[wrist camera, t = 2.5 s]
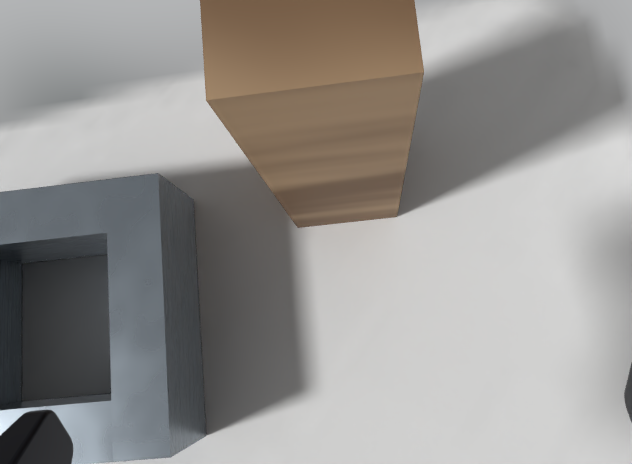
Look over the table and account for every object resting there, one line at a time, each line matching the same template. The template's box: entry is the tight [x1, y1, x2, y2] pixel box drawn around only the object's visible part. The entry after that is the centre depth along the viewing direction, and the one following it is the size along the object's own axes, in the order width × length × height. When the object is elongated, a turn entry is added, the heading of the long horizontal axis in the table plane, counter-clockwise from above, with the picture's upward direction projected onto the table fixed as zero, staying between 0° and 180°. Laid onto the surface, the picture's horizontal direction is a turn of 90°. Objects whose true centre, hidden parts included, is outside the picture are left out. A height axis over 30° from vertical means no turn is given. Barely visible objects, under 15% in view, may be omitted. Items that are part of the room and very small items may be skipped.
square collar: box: [0, 173, 206, 464], centre depth 22 cm, size 9×9×4 cm
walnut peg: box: [200, 0, 424, 228], centre depth 17 cm, size 4×4×13 cm
